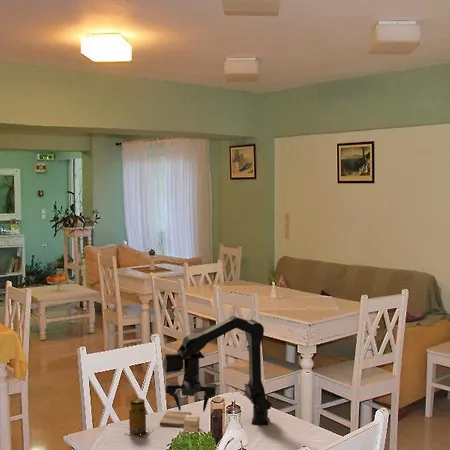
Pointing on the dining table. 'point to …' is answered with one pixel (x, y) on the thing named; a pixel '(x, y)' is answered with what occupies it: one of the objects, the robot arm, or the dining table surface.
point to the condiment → (138, 418)
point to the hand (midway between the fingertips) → (191, 410)
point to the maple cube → (191, 423)
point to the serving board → (174, 419)
